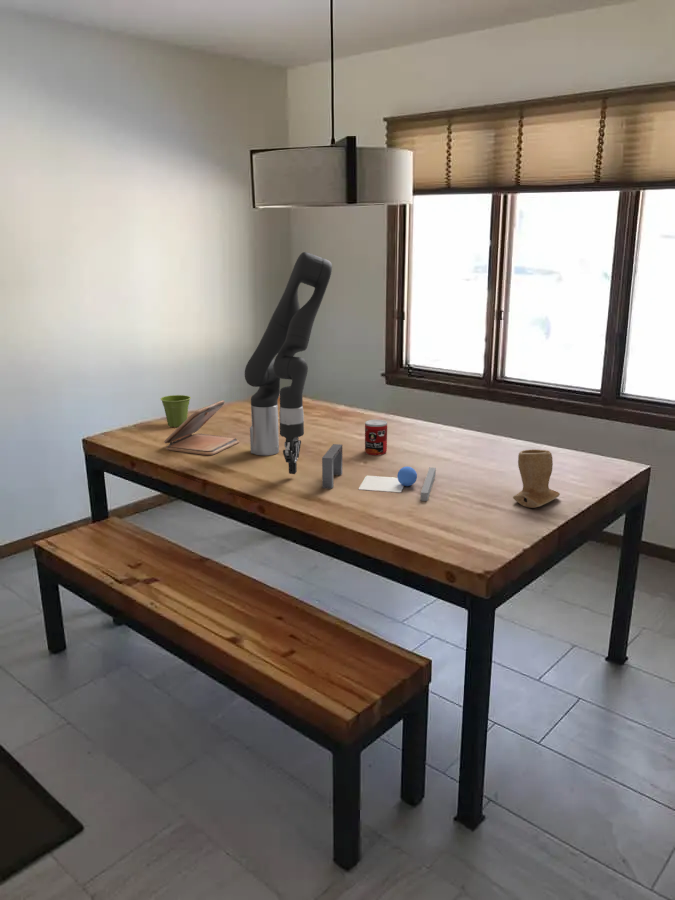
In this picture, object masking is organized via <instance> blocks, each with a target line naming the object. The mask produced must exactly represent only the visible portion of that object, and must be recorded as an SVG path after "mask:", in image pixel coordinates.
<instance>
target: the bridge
mask: <svg viewBox="0 0 675 900" xmlns="http://www.w3.org/2000/svg"><path fill="white" fill-rule="evenodd" d="M321 470H322V471H321V479H322V480H321V481H322V482H321V483H322V484H321V485H322V487H321V488H322V489H329V490H331V489H333V488H334V476H342V475H343V444H340V443H332V445H331V446H330V448H329V449H328V450H327V451H326V452H325V454H324V455H323V456H322V457H321Z"/></svg>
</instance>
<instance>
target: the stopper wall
mask: <svg viewBox="0 0 675 900" xmlns="http://www.w3.org/2000/svg"><path fill="white" fill-rule="evenodd" d="M436 471H437V468H436V467H429V468H428V471H427V474H426V477H425V479H424V482H423V485H422V488H421V491H420V501H422V502H428V501H429V497H430V494H431V491H432V488H433V484H434V481H435V478H436V476H437V475H436Z"/></svg>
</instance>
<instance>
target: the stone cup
mask: <svg viewBox="0 0 675 900" xmlns="http://www.w3.org/2000/svg"><path fill="white" fill-rule="evenodd" d="M517 458H518V459H517V464H518V465H517V467H518V470H519V474H520V477H521V482H522V489H521V491H519V492H518V493H517V494H515V495H514V496H512V499H514V501H515V502H516V503H519V504H520V505H521V506H522V507H526V508H529V509H530V508H532V509H533V508H539V507H542V506H544V505H546V504H548V503H550V502H552V501H554V500H555V499H557V498H558V497H559V496H560V494H561V493H560V492H559V491H557V490H554V489H551V488H550V487H549V486H550V485H549V483H550V480H551V475H552V473H553V467H554V466H553V465H554V463H553V454H552V452H551V451H550V450H547V449H539V448H537V449H524V450H520V451H519V453H518V456H517Z"/></svg>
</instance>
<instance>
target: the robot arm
mask: <svg viewBox="0 0 675 900" xmlns="http://www.w3.org/2000/svg"><path fill="white" fill-rule="evenodd" d="M332 270H333V265H332V262H331V261H330V260H328V259H326V258H325V257H321V256H318V255H316V254H314V253H311V252H310V253H309V252H307V251H303V252H302V253H300V254H299V256H298V257H297V259H296V261H295V264H294V265H293V268H292V271H291V273H290V275H289V279H288V281H287V283H286V285H285V286H286V287H285V289H284V291H283V293H282V295H281V298H280V300H279V302H278V304H277V306H276V307H275V310H273V311H274V312H273V313H272V316H271V318H270V320H269V322H268V325H267V327H266V329H265V331H264V333H263V335H262V337H261V339H260V341H259V343H258V345H257V346H256V348H255V351H254V352H253V354H252V355H251V356H250V358H249V360H248V362H247V363H246V365H245V368H244V379H245V382H246V383H247V385H249V386H251V387H254V388H256V387H257V388H258V387H259V388H258V390H257V391H256V392H255V393H254V394H253V395H252V396H251V398H250V412H251V413H250V414H251V415H250V416H251V417H250V419H251V426H249V438H250V439H249V442H250V443H249V444H250V454H254V455H255V456H256V455H257V456H272V455H276V454H279V452H280V450H279V449H280V445H279V443H280V442H279V441H280V439H279V436H281V437H284V438H285V441H284V442H283V443H284V449H283V450H282V455H283V457H284V460H285V462H286V463H288V474H289V475H296V473H297V471H298V469H297V468H298V467H297V465H298V463H297V462H298V458H300V451H301V444H302V440H301V439H299V438H300V437H303V436H304V434H305V427H304V426H305V424H304V423H305V421H304V420H305V418H304V416H305V415H304V413H305V412H304V406H303V405H304V404H303V403H304V401H303V392H304V388H305V384H306V381H307V376H308V372H309V369H308V367H309V366H308V363H307V361H306V360H305V358H303V357H300V356H295V355H296V354H297V353H300V352H304V351H306V350H307V348H308V346H309V341H310V337H311V334H312V330H313V325H314V322H315V319H316V317H317V314H318V312H319V309H320V306H321V304H322V301H323V299H324V296H325V293H326V291H327V288H328V285H329V282H330V279H331V275H332V272H333V271H332ZM300 284H304V285H306V286H310V287H313V288H314V290H313V293H312V295H311V296H310V298H309V300H307V302H306V303H305V304H303V306H300V302H299V294H298V293H299V291H298V290H299V287H300ZM281 379H283V380H290V381H291V384H290V385H287V386H283V387H281ZM278 399H279V402H278ZM278 403H279V404H278ZM278 405H279V406H278ZM278 409H279V410H278Z"/></svg>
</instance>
